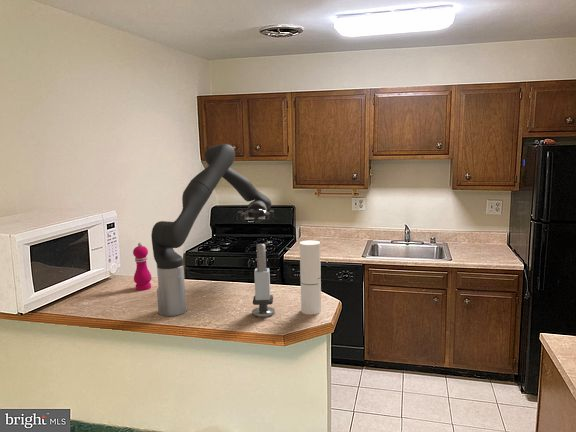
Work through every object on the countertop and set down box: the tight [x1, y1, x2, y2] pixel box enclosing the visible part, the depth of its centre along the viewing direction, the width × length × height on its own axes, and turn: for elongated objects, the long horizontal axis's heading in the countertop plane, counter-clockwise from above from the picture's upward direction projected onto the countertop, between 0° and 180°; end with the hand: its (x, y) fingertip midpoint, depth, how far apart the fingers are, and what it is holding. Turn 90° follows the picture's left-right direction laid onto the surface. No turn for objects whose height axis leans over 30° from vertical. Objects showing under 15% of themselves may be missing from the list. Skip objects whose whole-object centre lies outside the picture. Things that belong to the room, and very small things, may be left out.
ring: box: [252, 294, 274, 306], centre depth 159 cm, size 7×7×2 cm
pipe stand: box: [251, 243, 276, 319], centre depth 158 cm, size 8×8×25 cm
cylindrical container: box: [299, 239, 322, 316], centre depth 159 cm, size 7×7×25 cm
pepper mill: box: [132, 242, 152, 291], centre depth 191 cm, size 7×7×20 cm
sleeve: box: [253, 267, 271, 300], centre depth 158 cm, size 5×5×10 cm
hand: (254, 217), depth 171 cm, fingers open, 8 cm apart
